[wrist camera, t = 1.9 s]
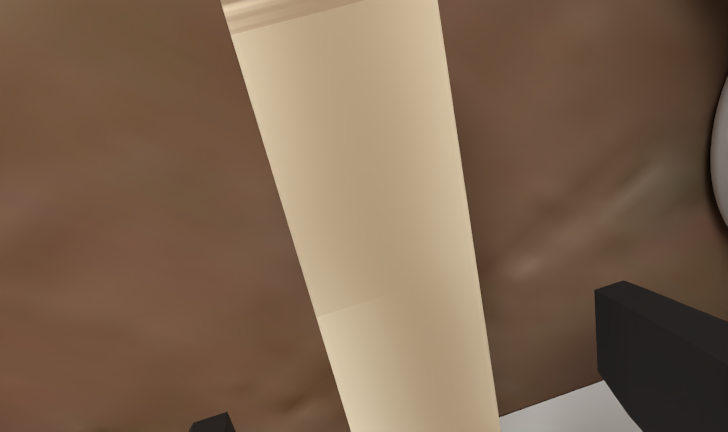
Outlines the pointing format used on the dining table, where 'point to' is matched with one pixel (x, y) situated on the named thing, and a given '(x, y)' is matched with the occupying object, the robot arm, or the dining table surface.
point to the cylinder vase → (720, 154)
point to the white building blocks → (573, 413)
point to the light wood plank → (374, 202)
